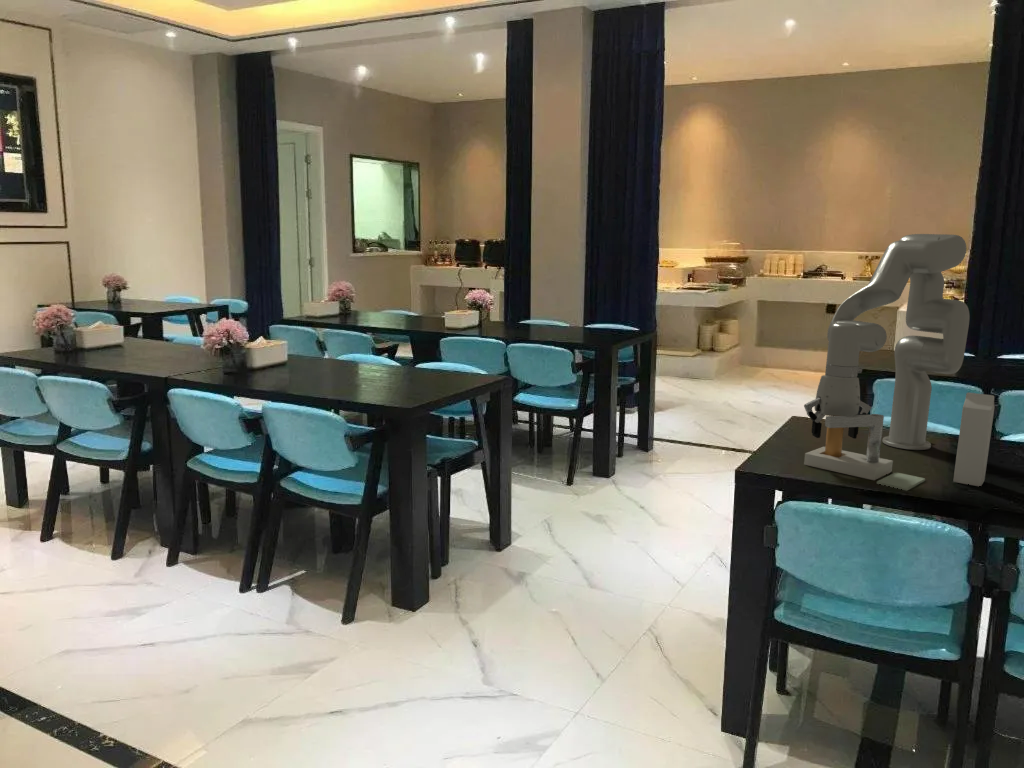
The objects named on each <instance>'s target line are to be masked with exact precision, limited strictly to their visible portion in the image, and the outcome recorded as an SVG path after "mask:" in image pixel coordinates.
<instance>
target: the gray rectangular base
mask: <svg viewBox="0 0 1024 768" xmlns="http://www.w3.org/2000/svg"><path fill="white" fill-rule="evenodd" d="M893 463H894V460H891V459H887V458H882V457H879V462H868V461H866V454H862V453H857V452H853V451H848V450H843V449H842V453H841V457H839V458H838V457H834V456H829V455H825V446H822V447H819V448H816V449H813V450H810V451H808V452H805V453H804V461H803V465H805V466H809V467H814V468H817V469H822V470H826V471H832V472H836V473H840V474H845V475H849V476H853V477H856V478H857V477H858V478H862V479H866V480H871V481H876V480H879V479H881V478H883V477H884V476H886V474H887V475H889V474H890V473H891V474H892V473H893V472H892V470H893Z"/></svg>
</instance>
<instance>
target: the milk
mask: <svg viewBox="0 0 1024 768" xmlns="http://www.w3.org/2000/svg"><path fill="white" fill-rule="evenodd" d="M965 394H966V395H965V399H964V403H963V406H962V411H961V420H960V426H959V434H958V443H957V449H956V457H955V466H954V473H953V481H952V482H953V483H959V484H963V485H968V484H969V486H975V487H979V486H981V487H982V485H983V484H984V482H985V479H986V471H987V464H988V456H989V451H990V445H991V444H990V441H991V436H992V429H993V427H992V426H993V421H994V414H995V395H993V394H986V393H984V394H983V393H976V392H966V393H965Z"/></svg>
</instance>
